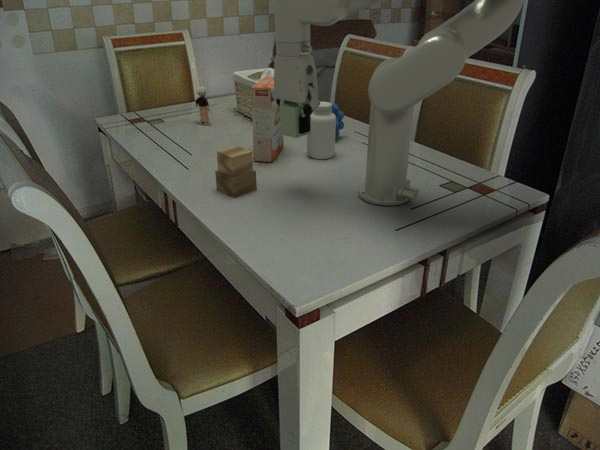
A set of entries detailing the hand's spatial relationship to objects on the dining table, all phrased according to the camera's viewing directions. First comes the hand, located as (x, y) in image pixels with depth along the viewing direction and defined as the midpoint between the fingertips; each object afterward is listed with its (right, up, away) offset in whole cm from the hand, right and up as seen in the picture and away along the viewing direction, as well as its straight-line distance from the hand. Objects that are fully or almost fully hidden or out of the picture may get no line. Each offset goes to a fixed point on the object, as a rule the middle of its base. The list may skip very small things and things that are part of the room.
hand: (296, 129), depth 120 cm
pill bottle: (+7, -2, +28) cm, 29 cm away
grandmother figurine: (-32, +12, +56) cm, 65 cm away
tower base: (-15, -14, +6) cm, 21 cm away
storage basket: (-11, +17, +65) cm, 68 cm away
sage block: (0, -1, 0) cm, 1 cm away
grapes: (+11, +4, +40) cm, 41 cm away
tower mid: (-15, -9, +4) cm, 18 cm away
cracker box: (-8, -2, +28) cm, 30 cm away
